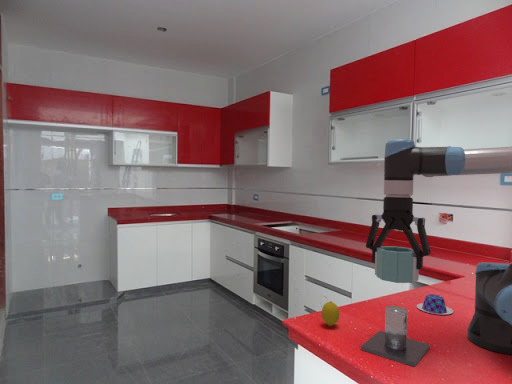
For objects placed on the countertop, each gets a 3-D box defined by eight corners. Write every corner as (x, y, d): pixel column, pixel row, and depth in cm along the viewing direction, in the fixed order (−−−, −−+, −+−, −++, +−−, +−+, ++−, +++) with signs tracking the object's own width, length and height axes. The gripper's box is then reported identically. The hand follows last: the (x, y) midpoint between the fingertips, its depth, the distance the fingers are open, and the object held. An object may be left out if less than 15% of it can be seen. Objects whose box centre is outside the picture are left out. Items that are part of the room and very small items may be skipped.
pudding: (426, 316, 125) (426, 301, 125) (410, 304, 137) (411, 291, 137) (460, 316, 125) (460, 301, 125) (442, 305, 137) (442, 291, 137)
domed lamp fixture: (429, 347, 100) (430, 308, 99) (414, 366, 89) (415, 322, 89) (379, 333, 109) (380, 297, 108) (360, 349, 98) (361, 309, 98)
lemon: (317, 326, 114) (318, 301, 114) (327, 321, 118) (328, 297, 117) (332, 331, 110) (333, 305, 110) (342, 326, 114) (343, 301, 113)
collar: (419, 278, 99) (420, 249, 99) (408, 284, 92) (408, 254, 92) (385, 272, 106) (386, 245, 105) (372, 278, 98) (373, 249, 98)
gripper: (446, 197, 94) (443, 282, 95) (365, 194, 109) (363, 268, 109) (438, 198, 88) (435, 288, 89) (354, 195, 103) (352, 272, 103)
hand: (396, 277), depth 99 cm, fingers closed on collar, 9 cm apart
